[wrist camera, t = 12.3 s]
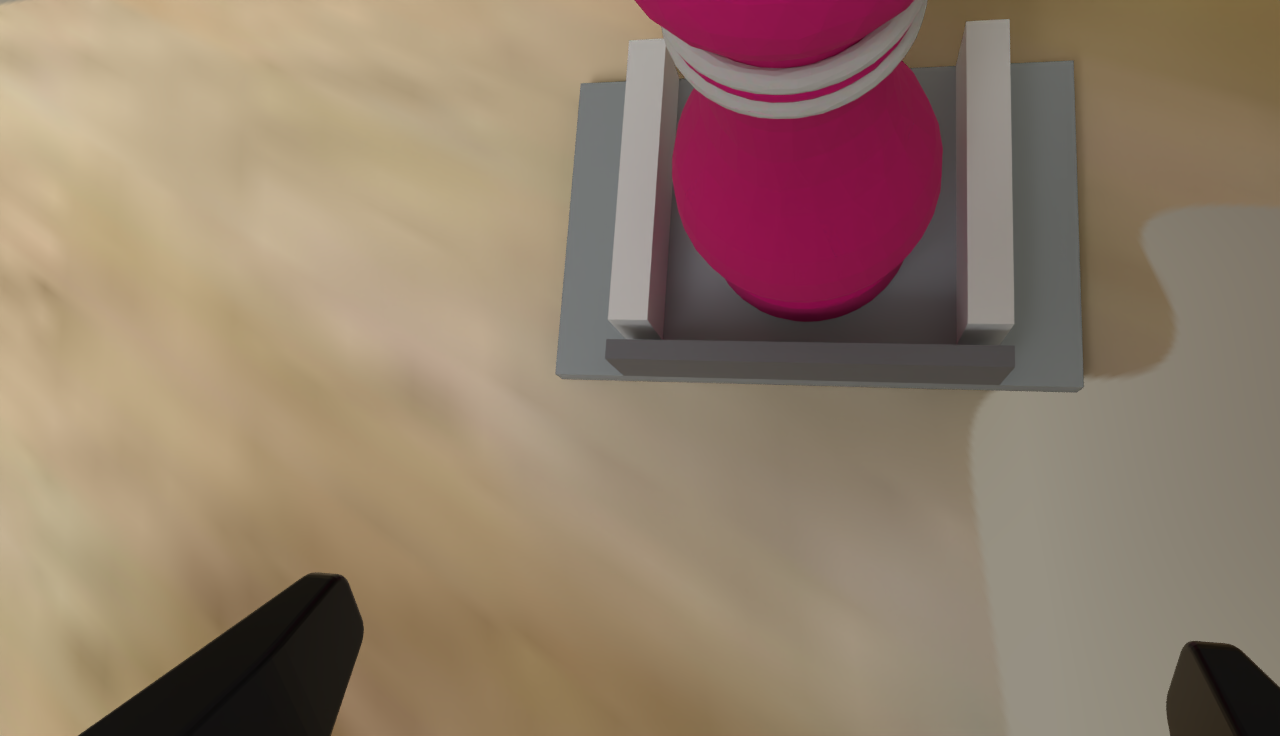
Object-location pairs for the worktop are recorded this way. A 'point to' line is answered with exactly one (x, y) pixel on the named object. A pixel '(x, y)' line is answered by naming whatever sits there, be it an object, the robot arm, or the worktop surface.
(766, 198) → the pepper mill
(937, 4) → the worktop surface
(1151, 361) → the worktop surface
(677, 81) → the rail dock
